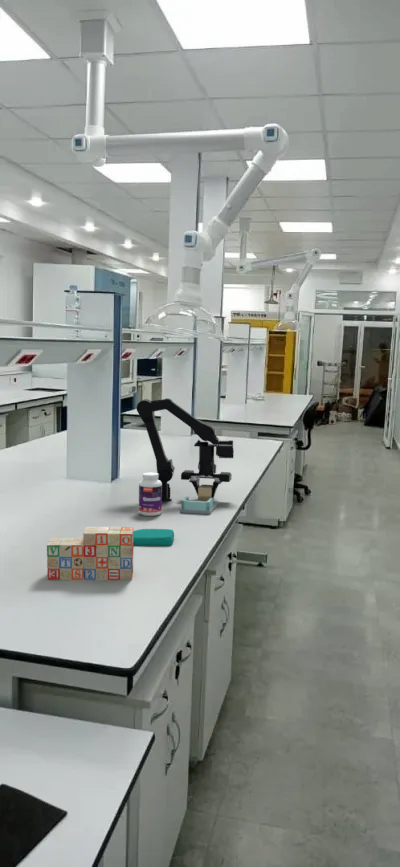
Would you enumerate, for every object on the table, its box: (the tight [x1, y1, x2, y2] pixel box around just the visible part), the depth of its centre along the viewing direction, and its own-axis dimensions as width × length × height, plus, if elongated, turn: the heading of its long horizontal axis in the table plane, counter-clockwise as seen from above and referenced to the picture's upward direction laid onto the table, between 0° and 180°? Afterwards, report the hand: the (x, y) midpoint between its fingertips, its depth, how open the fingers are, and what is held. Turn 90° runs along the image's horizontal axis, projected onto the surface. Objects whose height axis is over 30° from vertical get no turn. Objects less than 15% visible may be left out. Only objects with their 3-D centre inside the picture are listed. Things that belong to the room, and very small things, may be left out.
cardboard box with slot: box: [197, 484, 215, 501], centre depth 249 cm, size 6×5×6 cm
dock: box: [179, 496, 219, 515], centre depth 237 cm, size 15×11×4 cm
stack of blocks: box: [46, 526, 135, 581], centre depth 166 cm, size 21×6×12 cm, turn 93°
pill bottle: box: [138, 471, 163, 517], centre depth 228 cm, size 8×8×14 cm
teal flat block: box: [133, 528, 175, 547], centre depth 197 cm, size 3×11×24 cm
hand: (206, 498), depth 249 cm, fingers closed on cardboard box with slot, 5 cm apart
